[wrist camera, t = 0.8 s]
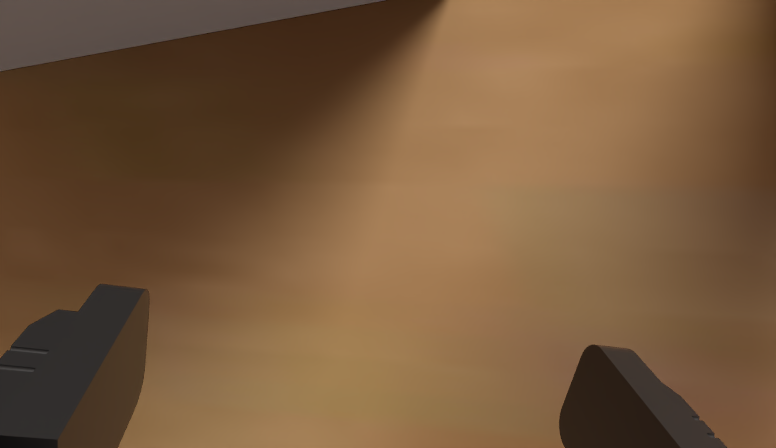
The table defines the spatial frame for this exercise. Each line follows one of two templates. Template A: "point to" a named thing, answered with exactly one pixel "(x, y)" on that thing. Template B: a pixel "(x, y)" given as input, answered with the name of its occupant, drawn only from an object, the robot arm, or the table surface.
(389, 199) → the table surface
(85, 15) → the cabinet
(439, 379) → the table surface
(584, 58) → the table surface
